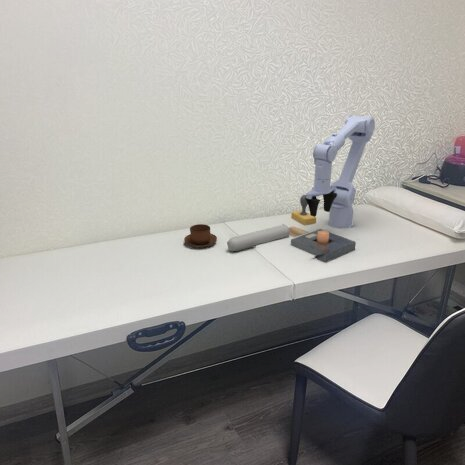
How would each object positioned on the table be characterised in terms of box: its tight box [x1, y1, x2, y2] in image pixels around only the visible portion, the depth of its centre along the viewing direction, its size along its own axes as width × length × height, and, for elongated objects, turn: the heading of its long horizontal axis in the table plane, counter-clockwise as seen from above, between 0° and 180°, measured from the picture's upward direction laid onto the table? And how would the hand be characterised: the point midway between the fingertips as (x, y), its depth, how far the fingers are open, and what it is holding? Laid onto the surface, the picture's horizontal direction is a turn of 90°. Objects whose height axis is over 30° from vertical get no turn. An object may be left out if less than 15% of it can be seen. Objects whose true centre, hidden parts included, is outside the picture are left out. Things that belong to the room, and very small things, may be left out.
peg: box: [317, 230, 330, 245], centre depth 154 cm, size 4×4×6 cm
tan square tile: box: [288, 225, 309, 238], centre depth 167 cm, size 8×8×1 cm
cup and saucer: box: [184, 223, 218, 248], centre depth 159 cm, size 12×12×6 cm
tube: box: [226, 223, 290, 252], centre depth 158 cm, size 5×5×25 cm
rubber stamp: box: [290, 194, 317, 226], centre depth 177 cm, size 10×6×12 cm, turn 26°
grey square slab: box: [290, 228, 357, 263], centre depth 154 cm, size 16×16×3 cm
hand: (320, 213), depth 161 cm, fingers open, 7 cm apart
